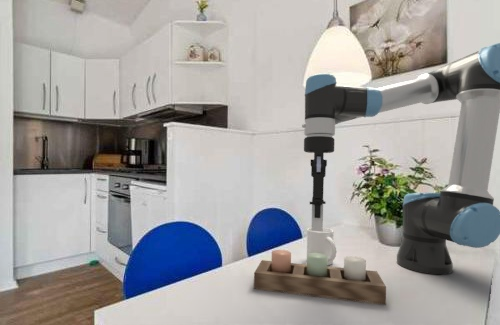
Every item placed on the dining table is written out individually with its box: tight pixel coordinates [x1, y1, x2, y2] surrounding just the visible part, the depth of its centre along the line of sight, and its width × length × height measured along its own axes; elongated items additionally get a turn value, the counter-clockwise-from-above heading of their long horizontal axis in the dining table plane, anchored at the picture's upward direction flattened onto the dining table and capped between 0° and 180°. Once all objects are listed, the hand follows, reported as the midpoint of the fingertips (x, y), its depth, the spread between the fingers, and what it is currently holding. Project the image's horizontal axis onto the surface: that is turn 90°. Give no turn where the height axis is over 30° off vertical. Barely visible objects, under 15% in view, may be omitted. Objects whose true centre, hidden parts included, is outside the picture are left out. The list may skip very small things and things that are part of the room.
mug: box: [306, 227, 337, 266], centre depth 91 cm, size 12×8×10 cm
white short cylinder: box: [343, 255, 367, 281], centre depth 70 cm, size 5×5×4 cm
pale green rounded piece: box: [306, 253, 328, 277], centre depth 72 cm, size 5×5×4 cm
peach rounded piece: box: [271, 249, 292, 273], centre depth 74 cm, size 5×5×4 cm
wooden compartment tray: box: [253, 259, 387, 306], centre depth 72 cm, size 30×10×4 cm, turn 77°
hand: (317, 230), depth 72 cm, fingers closed
